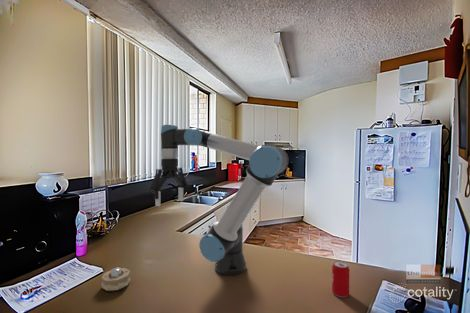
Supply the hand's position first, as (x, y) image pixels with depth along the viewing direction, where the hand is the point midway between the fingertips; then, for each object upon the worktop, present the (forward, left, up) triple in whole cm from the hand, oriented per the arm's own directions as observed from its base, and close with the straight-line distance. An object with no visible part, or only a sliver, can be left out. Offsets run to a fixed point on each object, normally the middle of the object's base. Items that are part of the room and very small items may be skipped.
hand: (170, 203), depth 115 cm
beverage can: (-70, -25, -32) cm, 81 cm away
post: (+8, +22, -32) cm, 39 cm away
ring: (+8, +22, -31) cm, 39 cm away
